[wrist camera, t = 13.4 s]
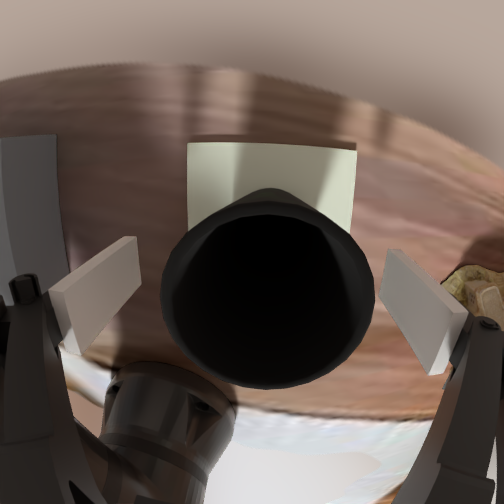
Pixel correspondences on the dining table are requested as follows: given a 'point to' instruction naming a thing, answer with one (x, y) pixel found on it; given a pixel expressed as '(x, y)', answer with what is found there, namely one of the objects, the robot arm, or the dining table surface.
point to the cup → (267, 292)
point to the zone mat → (269, 176)
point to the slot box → (30, 213)
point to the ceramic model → (479, 291)
